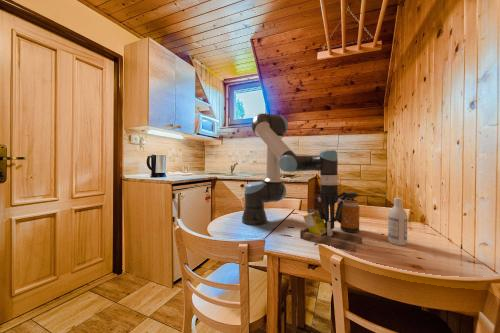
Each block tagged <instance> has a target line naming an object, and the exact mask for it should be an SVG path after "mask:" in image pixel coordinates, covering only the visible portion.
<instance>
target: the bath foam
mask: <svg viewBox="0 0 500 333" xmlns="http://www.w3.org/2000/svg"><path fill="white" fill-rule="evenodd" d="M387 220H388V221H387V222H388V223H387V240H388V242H389V243H390V244H392V245H396V246H406V245H407V244H408V220H409V219H408V214H407V212H406V211H405V209H404V207H403V198H402V197H394V198H393V206H392V207H391V209H390V210H389V212H388V219H387Z"/></svg>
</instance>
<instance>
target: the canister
mask: <svg viewBox="0 0 500 333" xmlns="http://www.w3.org/2000/svg"><path fill="white" fill-rule="evenodd" d="M338 195H339V198H340V199H341V200H344V201H345V202H344V203H343V205H342V208H341V212H340V216H339V220H337V221H336V222H337V223H339V224H340V226H339V227H340V229H341V230H342V231H344V232H345V233H357V232H359V231H360V209H361V208H360V206H359V201H358V199H356V198H357V197H359V194H357V193H356V192H345V191H343V192H342V193H340V194H338ZM336 203H337V206H338V202H336Z"/></svg>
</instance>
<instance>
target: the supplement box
mask: <svg viewBox="0 0 500 333" xmlns="http://www.w3.org/2000/svg"><path fill="white" fill-rule="evenodd" d="M302 217H303V219H304V222H305V224H306V226H307V227H308V229H309V232H310V233H312V234H316V235H321V236H324V235H326V234H327V228H326V227H325V220H323V219H321V217H320V213H319V210H318V211H316V212H313V213H309V214H308V213H307V214H305V215H302Z"/></svg>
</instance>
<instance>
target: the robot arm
mask: <svg viewBox="0 0 500 333" xmlns="http://www.w3.org/2000/svg"><path fill="white" fill-rule="evenodd" d="M288 123H289V122H288V120H287V119H286V117H285V116H282V115H280V114H271V113H263V112H261V113H259V114H256V115H255V117H253V119H252V120H251V124H250V125H251V130H252V132H253V133H254V135H255V136H256V137H259V138H260V139H261V140H262V141H263V142H264V143H265V145H266V178H264V180H263V181H253V182H249V183H247V184H245V186H244V209H243V210H244V211H243V213H242V216H241V222H242V223H243V224H245V225H250V226H258V225H264V224H267V222H268V217H267V213H266V211H265V203H266V204H267V203H274V202H275V203H277V202H280V201H282V200H284V198H286V194H287V187H286V185H285V184H284V183H283V180H282V178H281V171H283V172H285V173H286V172H288V173H293V172H310V171H311V172H318V171H319V173H320V176H319V177H320V178H319V179H320V181H319V182H320V194H319V196H318V197H317V198H315V199H314V200H315V202H316V205H317V208H318V209H317V210H318V211H319V213H320V217H321V219H323V220H324V222H325V227H326V228H327V236H326V237H328V236H332V230H334V229H335V222H338V221H337V220H339V216H340V212H341V208H342V205H343V203H344V202H345V201H344V200H341V199H340V198H339V195H340V194H339V185H338V183H339V176H338V175H339V174H338V168H339V167H338V166H339V164H338V160H339V159H338V151H337V150H335V149H334V150H333V149H331V150H326V149H325V150H321V151H320V152H319V155H297V154H296V153H295V152H294V151H293V150H292V149H291V148H290V147H289V146H288V145H287V144H286V142H284V140H282V139H283V138H284V135H285V134H286V133H287V131H288V130H289V129H288V128H289V124H288ZM322 202H323V203H322ZM336 203H338V205H337V206H336ZM335 207H336V211H335Z"/></svg>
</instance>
